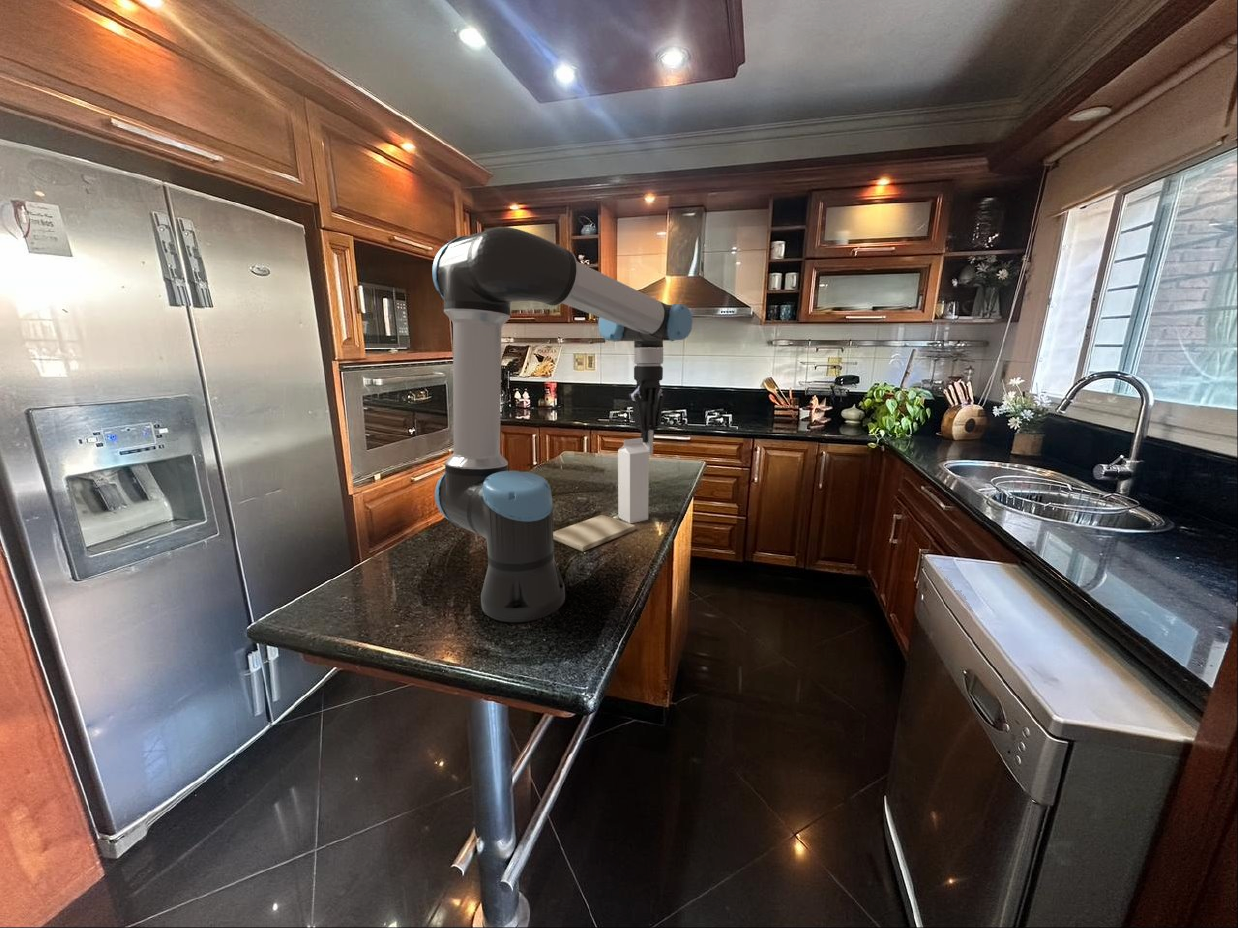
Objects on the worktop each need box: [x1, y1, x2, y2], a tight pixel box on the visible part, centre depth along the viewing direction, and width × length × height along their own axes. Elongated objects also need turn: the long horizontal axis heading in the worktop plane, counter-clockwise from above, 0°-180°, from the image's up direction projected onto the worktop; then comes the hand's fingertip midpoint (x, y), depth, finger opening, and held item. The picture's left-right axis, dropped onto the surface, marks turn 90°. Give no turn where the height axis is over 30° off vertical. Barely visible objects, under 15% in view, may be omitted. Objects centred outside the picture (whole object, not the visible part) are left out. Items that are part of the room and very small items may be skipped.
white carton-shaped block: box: [617, 437, 650, 524], centre depth 127 cm, size 6×6×22 cm
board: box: [553, 514, 636, 552], centre depth 119 cm, size 18×12×1 cm, turn 137°
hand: (647, 453), depth 130 cm, fingers closed
